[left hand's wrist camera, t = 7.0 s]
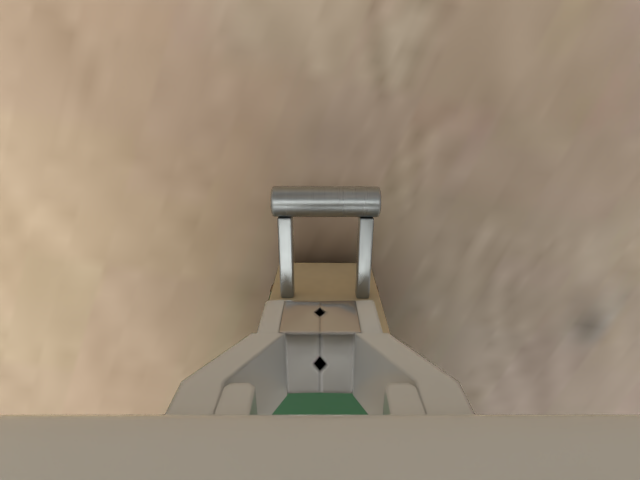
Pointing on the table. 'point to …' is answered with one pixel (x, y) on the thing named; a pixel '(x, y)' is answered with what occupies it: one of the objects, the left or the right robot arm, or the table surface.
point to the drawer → (326, 277)
